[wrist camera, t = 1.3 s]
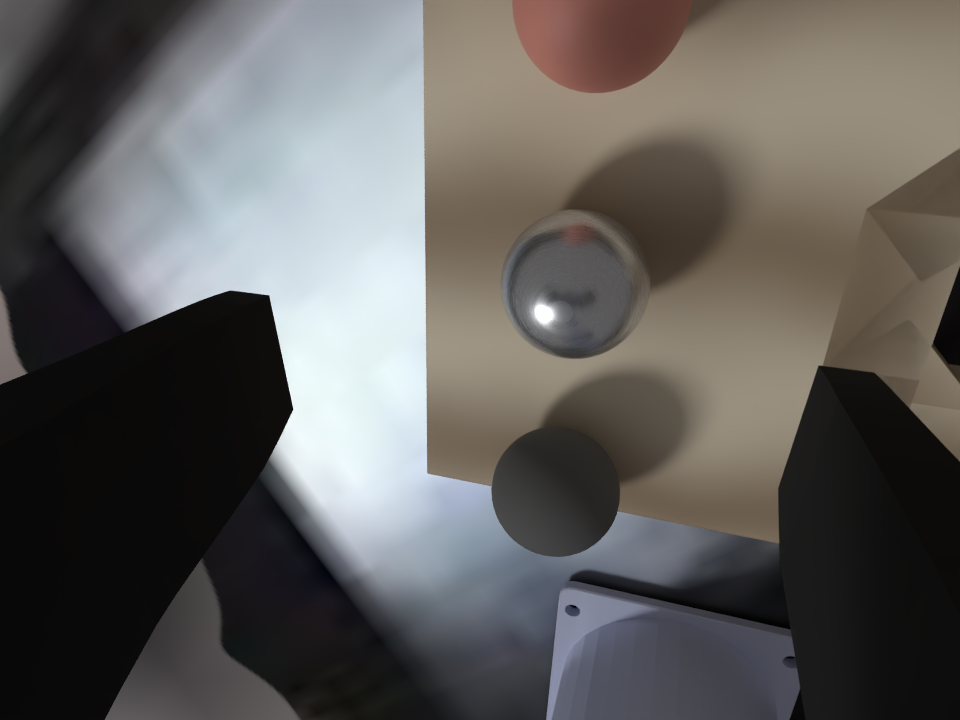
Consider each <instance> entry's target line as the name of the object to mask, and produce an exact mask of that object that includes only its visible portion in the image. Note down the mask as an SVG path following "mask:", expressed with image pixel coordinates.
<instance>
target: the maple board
mask: <svg viewBox="0 0 960 720" xmlns="http://www.w3.org/2000/svg"><path fill="white" fill-rule="evenodd" d="M423 29H424V141H425V253H426V365H427V473H428V474H433V475H438V476H443V477H448V478H453V479H458V480H463V481H468V482H473V483H478V484H483V485H488V486H492V481H493V475H494V472H495V468H496V466H497V463H498V461H499V459H500V458H501V456H502V455H503V453H504V452H505V450H506V449H507V448H508V447H509V446H510V445H511V444H512V443H513V442H514V441H515V440H517V439H518V438H519V437H521V436H523V435H524V434H526V433H528V432H531V431H533V430H536V429H540V428H544V427H565V428H569V429H573V430H576V431H579V432H581V433H583V434H585V435H587V436H589V437H590V438H592V439H593V440H594V441H596V442H597V443H598V444H599V445H600V446H601V447H602V448H603V449H604V450H605V452H606V453H607V454H608V455H609V457H610V459H611V460H612V462H613V464H614V467H615V469H616V471H617V475H618V478H619V484H620V502H619V507H618V511H619V512H624V513H629V514H634V515H639V516H644V517H649V518H654V519H659V520H664V521H669V522H674V523H679V524H684V525H689V526H694V527H699V528H704V529H709V530H714V531H719V532H724V533H729V534H734V535H739V536H744V537H749V538H754V539H759V540H764V541H769V542H774V543H779V514H778V487H779V484H780V481H781V478H782V475H783V472H784V469H785V466H786V463H787V460H788V457H789V454H790V451H791V448H792V444H793V441H794V438H795V435H796V432H797V429H798V426H799V423H800V420H801V417H802V414H803V411H804V408H805V405H806V402H807V399H808V396H809V393H810V390H811V387H812V384H813V380H814V377H815V374H816V371H817V368H818V365H820V366H828V367H836V368H844V369H851V370H859V371H867V372H874V373H875V374H877V375H878V376H879V377H880V378H881V379H882V380H883V381H884V382H885V383H886V384H887V385H888V386H889V387H890V388H891V389H892V390H893V391H894V392H895V394H896V395H897V396H898V397H899V398H900V399H901V400H902V401H903V402H904V403H905V404H906V405H907V406H908V407H909V408H910V409H911V410H912V412H913V413H914V414H915V415H916V416H917V417H918V418H919V419H920V420H921V421H922V422H923V423H924V424H925V425H926V426H927V428H928V429H929V430H930V431H931V432H932V433H933V434H934V435H935V436H936V437H937V438H938V439H939V440H940V441H941V442H942V443H943V444H944V446H945V447H946V448H947V449H948V450H949V451H950V452H951V453H952V454H953V455H954V456H955V457H956V458H957V459H958V460H959V461H960V366H959V365H951V364H948V362H947V361H946V360H945V358H944V357H943V356H942V354H941V353H940V352H939V350H938V349H937V348H936V347H935V345H934V344H933V341H934V338H935V335H936V332H937V329H938V327H939V324H940V321H941V318H942V315H943V312H944V310H945V307H946V304H947V301H948V298H949V295H950V293H951V290H952V287H953V284H954V281H955V278H956V276H957V273H958V270H959V267H960V0H693V1H692V6H691V11H690V15H689V18H688V21H687V24H686V27H685V29H684V32H683V34H682V36H681V38H680V40H679V42H678V43H677V45H676V46H675V48H674V50H673V51H672V52H671V54H670V55H669V56H668V57H667V59H666V60H665V61H664V62H663V63H662V64H661V65H660V66H659V67H658V68H657V69H656V70H655V71H654V72H652V73H651V74H650V75H648V76H647V77H646V78H644V79H642V80H641V81H639V82H637V83H635V84H633V85H631V86H629V87H626V88H623V89H620V90H616V91H613V92H606V93H585V92H579V91H575V90H571V89H568V88H566V87H564V86H562V85H559V84H558V83H556V82H554V81H553V80H551V79H550V78H548V77H547V76H546V75H545V74H544V73H542V72H541V71H540V70H539V69H538V67H537V66H536V65H535V64H534V63H533V62H532V60H531V59H530V58H529V56H528V55H527V53H526V51H525V50H524V48H523V46H522V44H521V42H520V39H519V36H518V34H517V30H516V26H515V22H514V16H513V9H512V0H423ZM571 209H584V210H590V211H595V212H598V213H602V214H604V215H606V216H609V217H611V218H613V219H614V220H616V221H617V222H619V223H620V224H622V225H623V226H624V227H625V228H627V229H628V230H629V231H630V232H631V234H632V235H633V236H634V237H635V238H636V240H637V241H638V243H639V244H640V246H641V248H642V250H643V252H644V254H645V256H646V259H647V262H648V266H649V271H650V281H651V284H650V296H649V300H648V304H647V307H646V310H645V312H644V315H643V317H642V319H641V321H640V322H639V324H638V325H637V327H636V328H635V329H634V331H633V332H632V333H631V334H630V335H629V336H628V337H627V338H626V339H625V340H624V341H623V342H622V343H620V344H619V345H618V346H616V347H614V348H613V349H611V350H609V351H607V352H605V353H602V354H600V355H597V356H594V357H590V358H583V359H567V358H560V357H555V356H552V355H549V354H546V353H544V352H542V351H540V350H538V349H536V348H535V347H533V346H531V345H530V344H529V343H528V342H526V341H525V340H524V339H523V338H522V337H521V336H520V335H519V334H518V333H517V331H516V330H515V329H514V327H513V326H512V324H511V323H510V321H509V319H508V317H507V315H506V313H505V310H504V307H503V303H502V298H501V292H500V280H501V272H502V267H503V264H504V260H505V258H506V255H507V253H508V251H509V249H510V248H511V246H512V244H513V243H514V241H515V240H516V239H517V237H518V236H519V235H520V234H521V233H522V232H523V231H524V230H525V229H526V228H527V227H528V226H530V225H531V224H532V223H534V222H535V221H537V220H538V219H540V218H542V217H544V216H546V215H549V214H552V213H555V212H559V211H563V210H571Z"/></svg>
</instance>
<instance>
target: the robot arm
mask: <svg viewBox="0 0 960 720" xmlns="http://www.w3.org/2000/svg"><path fill="white" fill-rule="evenodd" d="M292 411H293V406H292V401H291V397H290V392H289V387H288V382H287V378H286V373H285V368H284V364H283V359H282V354H281V349H280V345H279V340H278V335H277V331H276V326H275V321H274V316H273V312H272V307H271V302H270V297H269V295H261V294H253V293H246V292H238V291H227V292H224V293H221V294H218V295H215V296H212V297H209V298H206V299H204V300H201V301H198V302H196V303H193V304H191V305H188V306H186V307H184V308H181V309H179V310H176V311H174V312H172V313H169V314H167V315H165V316H162V317H160V318H158V319H155V320H153V321H151V322H149V323H146V324H144V325H142V326H139V327H137V328H135V329H132V330H130V331H128V332H126V333H123V334H121V335H119V336H116V337H114V338H112V339H110V340H107V341H105V342H103V343H100V344H98V345H96V346H94V347H91V348H89V349H87V350H84V351H82V352H80V353H77V354H75V355H72V356H70V357H68V358H65V359H63V360H60V361H58V362H55V363H53V364H50V365H48V366H45V367H43V368H40V369H38V370H35V371H33V372H30V373H28V374H25V375H23V376H20V377H18V378H16V379H13V380H11V381H8V382H6V383H3V384H1V385H0V720H105V718H106V716H107V714H108V712H109V710H110V708H111V706H112V704H113V702H114V700H115V699H116V697H117V695H118V693H119V691H120V689H121V687H122V686H123V684H124V682H125V680H126V679H127V677H128V675H129V673H130V671H131V669H132V668H133V666H134V664H135V662H136V660H137V659H138V657H139V655H140V653H141V652H142V650H143V648H144V646H145V645H146V643H147V641H148V639H149V637H150V636H151V634H152V632H153V630H154V628H155V627H156V625H157V623H158V622H159V620H160V619H161V617H162V616H163V614H164V613H165V611H166V609H167V608H168V606H169V605H170V603H171V602H172V600H173V599H174V597H175V595H176V594H177V592H178V591H179V590H180V588H181V587H182V585H183V584H184V583H185V581H186V580H187V578H188V577H189V575H190V574H191V572H192V571H193V570H194V568H195V567H196V565H197V564H198V562H199V561H200V560H201V558H202V557H203V555H204V554H205V553H206V551H207V550H208V548H209V547H210V545H211V544H212V543H213V541H214V540H215V538H216V537H217V535H218V534H219V533H220V531H221V530H222V528H223V527H224V526H225V524H226V523H227V521H228V520H229V518H230V517H231V516H232V514H233V513H234V511H235V510H236V508H237V507H238V505H239V504H240V503H241V501H242V500H243V498H244V497H245V495H246V494H247V492H248V491H249V489H250V488H251V487H252V485H253V484H254V482H255V481H256V479H257V478H258V476H259V475H260V473H261V472H262V470H263V469H264V467H265V465H266V463H267V461H268V459H269V458H270V456H271V454H272V452H273V450H274V448H275V446H276V444H277V442H278V440H279V438H280V436H281V434H282V432H283V430H284V428H285V426H286V424H287V421H288V419H289V417H290V415H291V413H292ZM778 514H779V549H780V565H781V572H782V579H783V585H784V592H785V598H786V604H787V610H788V617H789V623H790V629H791V630H789V629H785V628H780V627H776V626H772V625H767V624H763V623H758V622H754V621H749V620H745V619H741V618H736V617H732V616H727V615H723V614H718V613H714V612H710V611H705V610H701V609H696V608H692V607H687V606H683V605H678V604H674V603H670V602H665V601H661V600H656V599H652V598H647V597H643V596H639V595H634V594H630V593H625V592H621V591H616V590H612V589H608V588H603V587H599V586H594V585H590V584H585V583H581V582H576V581H570V582H566V583H565V584H563V585H562V588H561V591H560V595H559V604H558V613H557V623H556V633H555V642H554V652H553V661H552V671H551V680H550V690H549V699H548V709H547V718H546V720H790V717H791V714H792V711H793V708H794V705H795V702H796V699H797V696H798V693H799V690H801V696H802V702H803V708H804V714H805V720H960V461H959V460H958V459H957V458H956V457H955V456H954V455H953V454H952V453H951V452H950V451H949V450H948V449H947V448H946V447H945V446H944V444H943V443H942V442H941V441H940V440H939V439H938V438H937V437H936V436H935V435H934V434H933V433H932V432H931V431H930V430H929V429H928V428H927V426H926V425H925V424H924V423H923V422H922V421H921V420H920V419H919V418H918V417H917V416H916V415H915V414H914V413H913V412H912V410H911V409H910V408H909V407H908V406H907V405H906V404H905V403H904V402H903V401H902V400H901V399H900V398H899V397H898V396H897V395H896V394H895V392H894V391H893V390H892V389H891V388H890V387H889V386H888V385H887V384H886V383H885V382H884V381H883V380H882V379H881V378H880V377H879V376H878V375H877V374H875V373H874V372H867V371H859V370H851V369H844V368H836V367H828V366H820V365H818V368H817V371H816V374H815V377H814V380H813V384H812V387H811V390H810V393H809V396H808V399H807V402H806V405H805V408H804V411H803V414H802V417H801V420H800V423H799V426H798V429H797V432H796V435H795V438H794V441H793V444H792V448H791V451H790V454H789V457H788V460H787V463H786V466H785V469H784V472H783V475H782V478H781V481H780V484H779V487H778ZM569 605H575V606H577V607H578V608H573V607H571V606H569ZM788 656H794V657H795V658H793V659H792V658H786V657H788Z"/></svg>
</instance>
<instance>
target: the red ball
mask: <svg viewBox="0 0 960 720" xmlns="http://www.w3.org/2000/svg"><path fill="white" fill-rule="evenodd" d="M692 1H693V0H512V9H513V16H514V22H515V26H516V30H517V34H518V36H519V39H520V42H521V44H522V46H523V48H524V50H525V51H526V53H527V55H528V56H529V58H530V59H531V60H532V62H533V63H534V64H535V65H536V66H537V67H538V69H539V70H540V71H541V72H542V73H544V74H545V75H546V76H547V77H548V78H550V79H551V80H553V81H554V82H556V83H558V84H559V85H562V86H564V87H566V88H568V89H571V90H575V91H579V92H585V93H606V92H613V91H616V90H620V89H623V88H626V87H629V86H631V85H633V84H635V83H637V82H639V81H641V80H642V79H644V78H646V77H647V76H648V75H650V74H651V73H652V72H654V71H655V70H656V69H657V68H658V67H659V66H660V65H661V64H662V63H663V62H664V61H665V60H666V59H667V57H668V56H669V55H670V54H671V52H672V51H673V50H674V48H675V46H676V45H677V43H678V42H679V40H680V38H681V36H682V34H683V32H684V29H685V27H686V24H687V21H688V18H689V15H690V11H691V6H692Z"/></svg>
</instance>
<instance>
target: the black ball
mask: <svg viewBox="0 0 960 720" xmlns="http://www.w3.org/2000/svg"><path fill="white" fill-rule="evenodd" d="M492 501H493V506H494V509H495V512H496V515H497V518H498V520H499V522H500V524H501V525H502V527H503V528H504V530H505V531H506V532H507V533H508V535H509V536H510V537H511V538H512V539H513V540H514V541H516V542H517V543H518V544H520V545H521V546H523V547H524V548H526V549H528V550H530V551H532V552H534V553H537V554H541V555H545V556H554V557H562V556H570V555H573V554H577V553H580V552H582V551H584V550H586V549H588V548H590V547H591V546H593V545H594V544H596V543H597V542H598V541H599V540H600V539H601V538H602V537H603V536H604V535H605V534H606V533H607V531H608V530H609V528H610V527H611V525H612V523H613V522H614V519H615V517H616V514H617V511H618V507H619V502H620V484H619V478H618V475H617V471H616V469H615V467H614V464H613V462H612V460H611V459H610V457H609V455H608V454H607V453H606V452H605V450H604V449H603V448H602V447H601V446H600V445H599V444H598V443H597V442H596V441H594V440H593V439H592V438H590V437H589V436H587V435H585V434H583V433H581V432H579V431H576V430H573V429H569V428H565V427H544V428H540V429H536V430H533V431H531V432H528V433H526V434H524V435H523V436H521V437H519V438H518V439H517V440H515V441H514V442H513V443H512V444H511V445H510V446H509V447H508V448H507V449H506V450H505V452H504V453H503V455H502V456H501V458H500V459H499V461H498V463H497V466H496V468H495V472H494V475H493V481H492Z"/></svg>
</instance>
